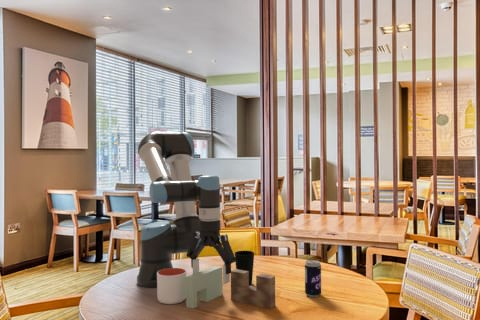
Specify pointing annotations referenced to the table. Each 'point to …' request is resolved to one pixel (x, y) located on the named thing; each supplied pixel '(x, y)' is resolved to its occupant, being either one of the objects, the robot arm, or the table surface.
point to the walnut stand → (253, 289)
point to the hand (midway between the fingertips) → (210, 280)
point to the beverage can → (313, 278)
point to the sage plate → (204, 286)
